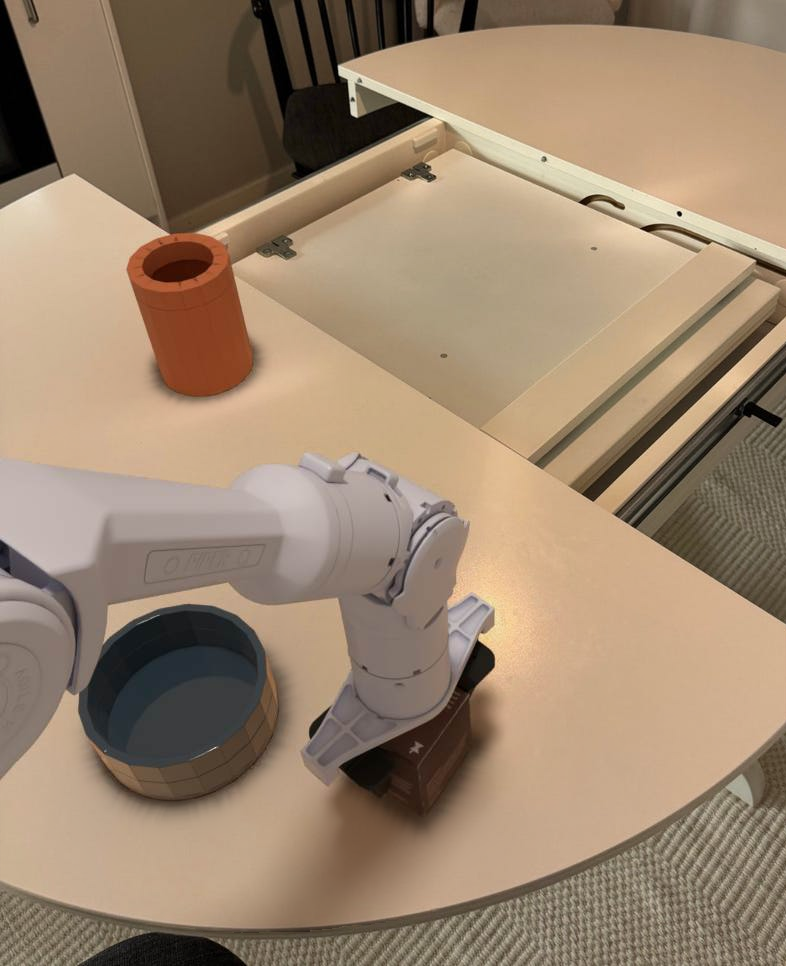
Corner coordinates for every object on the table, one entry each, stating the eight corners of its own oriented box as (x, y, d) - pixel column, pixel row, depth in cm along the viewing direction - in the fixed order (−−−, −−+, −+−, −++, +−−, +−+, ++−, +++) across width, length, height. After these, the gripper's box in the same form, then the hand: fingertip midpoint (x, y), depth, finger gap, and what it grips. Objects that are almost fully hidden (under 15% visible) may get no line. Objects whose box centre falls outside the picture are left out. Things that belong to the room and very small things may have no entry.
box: (474, 747, 66) (473, 693, 60) (424, 820, 62) (418, 770, 57) (402, 704, 68) (394, 649, 62) (350, 772, 65) (337, 720, 59)
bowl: (172, 838, 62) (151, 805, 58) (66, 723, 67) (41, 687, 63) (313, 709, 68) (304, 672, 64) (206, 614, 73) (191, 575, 69)
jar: (199, 409, 88) (166, 304, 79) (143, 368, 92) (107, 263, 83) (271, 363, 92) (248, 258, 83) (215, 325, 96) (187, 221, 87)
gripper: (434, 522, 59) (441, 642, 69) (250, 678, 52) (288, 787, 62) (522, 584, 56) (516, 700, 66) (339, 759, 49) (364, 859, 59)
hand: (411, 746), depth 64 cm, fingers closed on box, 6 cm apart
